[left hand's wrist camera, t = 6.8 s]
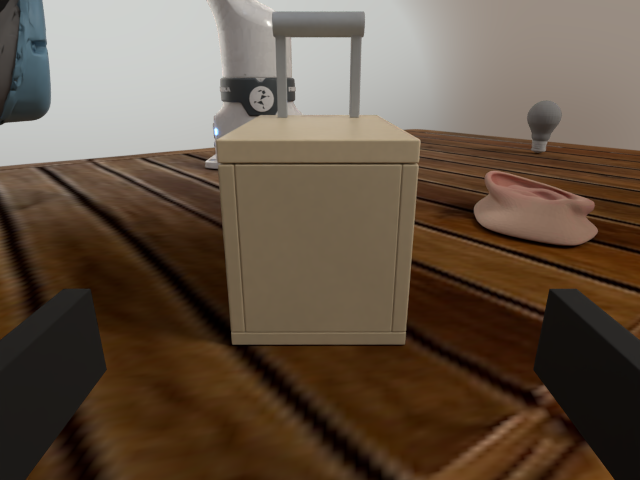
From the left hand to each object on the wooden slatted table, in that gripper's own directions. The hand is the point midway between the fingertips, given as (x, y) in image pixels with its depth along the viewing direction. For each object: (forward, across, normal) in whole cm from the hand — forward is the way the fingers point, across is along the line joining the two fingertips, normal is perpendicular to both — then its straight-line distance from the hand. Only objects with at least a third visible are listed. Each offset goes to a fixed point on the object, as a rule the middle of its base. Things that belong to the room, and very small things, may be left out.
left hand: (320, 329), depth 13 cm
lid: (+18, 0, +3) cm, 18 cm away
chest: (+17, 0, -7) cm, 19 cm away
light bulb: (+78, +44, -7) cm, 90 cm away
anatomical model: (+31, +22, -7) cm, 39 cm away
